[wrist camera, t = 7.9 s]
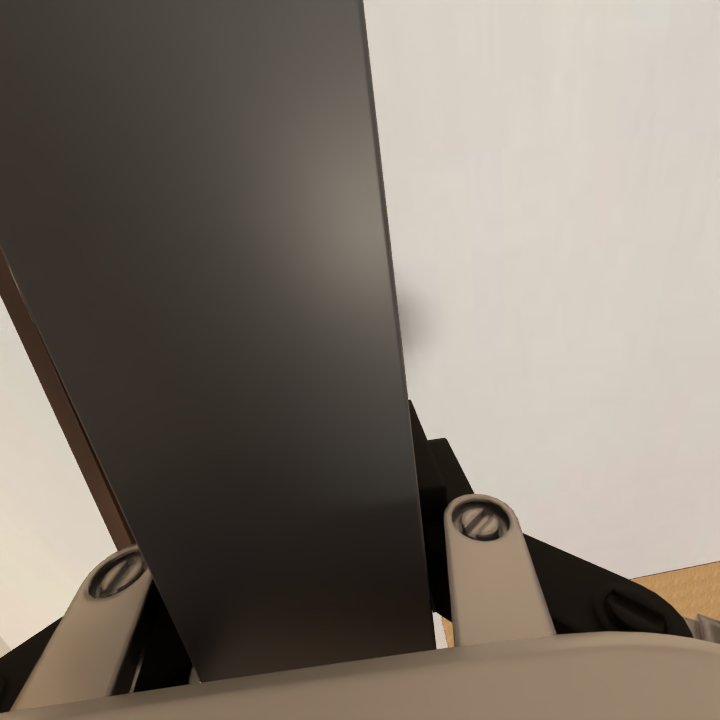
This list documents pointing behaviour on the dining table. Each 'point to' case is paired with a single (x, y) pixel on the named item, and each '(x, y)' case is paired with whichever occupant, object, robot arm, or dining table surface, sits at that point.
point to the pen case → (224, 310)
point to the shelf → (63, 409)
